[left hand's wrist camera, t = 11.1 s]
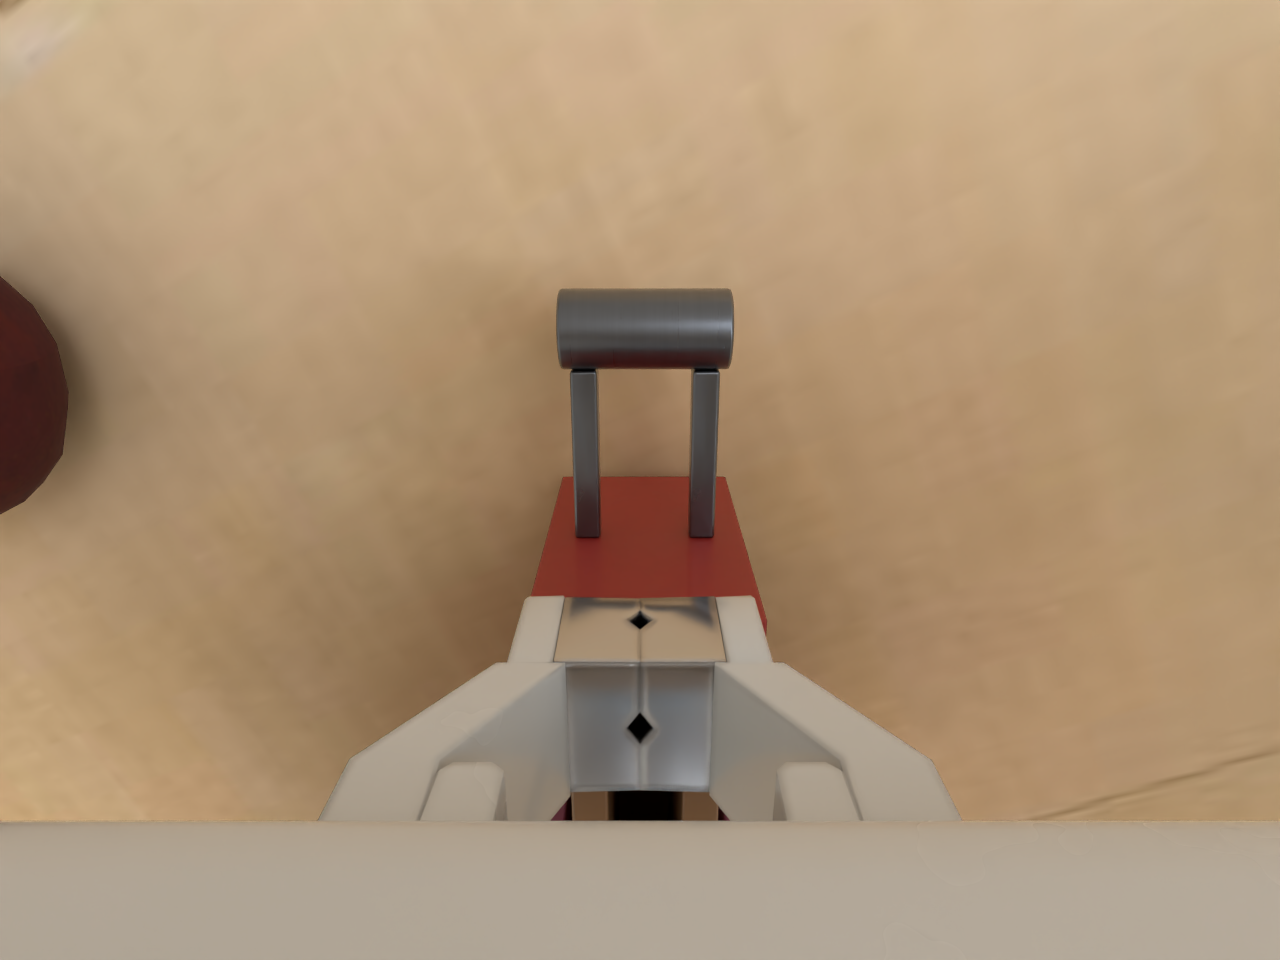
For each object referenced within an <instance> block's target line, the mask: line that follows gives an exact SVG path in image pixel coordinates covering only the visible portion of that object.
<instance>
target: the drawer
mask: <svg viewBox="0 0 1280 960" xmlns="http://www.w3.org/2000/svg"><path fill="white" fill-rule="evenodd" d="M556 335H557V351H558V359H559V364H560V366H561V368H562V369H572V370H571V372H570V391H571V421H572V451H573V477H563V479H562V483H561V486H560V490H559V494H558V498H557V501H556V505H555V509H554V512H553V516H552V520H551V523H550V527H549V531H548V534H547V538H546V542H545V546H544V549H543V553H542V557H541V560H540V564H539V568H538V571H537V575H536V579H535V582H534V586H533V590H532V593H531V596H564V597H565V598H566V597H567V596H572V597H626V598H664V597H706V596H714V597H726V596H748V595H751V596H752V597H754V598H755V601H756V605H757V608H758V611H759V615H760V618H761V622H762V625H763V629H764V632H765V636H766V630H767V619H766V615H765V612H764V609H763V605H762V602H761V598H760V595H759V592H758V588H757V585H756V581H755V578H754V574H753V571H752V568H751V564H750V561H749V557H748V554H747V550H746V547H745V544H744V540H743V537H742V533H741V530H740V526H739V523H738V520H737V516H736V513H735V509H734V506H733V503H732V499H731V496H730V492H729V489H728V485H727V482H726V479H725V477H716V470H717V442H718V415H719V387H720V372H719V370H718V369H727V368H729V366H730V364H731V360H732V353H733V341H734V304H733V296H732V293H731V290H729V289H561V290H559V293H558V297H557V310H556ZM598 369H691V411H690V454H689V477H600V431H599V381H598ZM709 794H710V792H685V791H648V790H629V791H594V792H571V798H572V821H718V805H717V804H716V803H715V801H714V800H713V799H712V798H711V797H710V795H709Z"/></svg>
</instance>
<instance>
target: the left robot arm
mask: <svg viewBox="0 0 1280 960" xmlns="http://www.w3.org/2000/svg"><path fill="white" fill-rule="evenodd" d="M629 790H648V791H685V792H710V794H709V795H710V797H711V798H712V799H713V800H714V801H715V803H716V804H717V805H718V806H719V807H720V809H721V810H722V811H723V812H724V814H725V815H726V816H727V817H728V818H729V820H730V821H550V820H551V819H552V818H553V817H554V815H555V814H556V813H557V812H558V811H559V809H560V808H561V807H562V806H563V805H564V803H565V802H566V801H567V800H568V798H569V797H570V796H571V793H570V792H594V791H629ZM0 960H1280V821H962V819H961V817H960V815H959V813H958V811H957V809H956V807H955V805H954V803H953V801H952V799H951V797H950V795H949V793H948V791H947V789H946V787H945V785H944V783H943V782H942V780H941V778H940V776H939V774H938V772H937V770H936V768H935V766H934V764H933V762H932V760H931V759H929V758H928V757H926V756H925V755H923V754H922V753H920V752H919V751H917V750H916V749H914V748H913V747H911V746H910V745H908V744H906V743H905V742H903V741H902V740H900V739H899V738H897V737H896V736H894V735H893V734H891V733H890V732H888V731H887V730H885V729H884V728H882V727H881V726H879V725H878V724H876V723H875V722H873V721H872V720H870V719H869V718H867V717H866V716H864V715H863V714H861V713H860V712H858V711H857V710H855V709H854V708H852V707H850V706H849V705H847V704H846V703H844V702H843V701H841V700H840V699H838V698H837V697H835V696H834V695H832V694H831V693H829V692H828V691H826V690H825V689H823V688H822V687H820V686H819V685H817V684H816V683H814V682H813V681H811V680H810V679H808V678H807V677H805V676H804V675H802V674H801V673H799V672H798V671H796V670H794V669H793V668H791V667H790V666H788V665H787V664H785V663H779V662H773V660H772V657H771V653H770V650H769V646H768V643H767V639H766V636H765V632H764V629H763V625H762V622H761V618H760V615H759V611H758V608H757V605H756V601H755V598H754V597H752V596H751V595H748V596H726V597H714V596H706V597H664V598H626V597H572V596H567V597H566V598H565V597H564V596H529V597H527V598H526V599H525V600H524V604H523V607H522V611H521V614H520V618H519V621H518V625H517V628H516V632H515V635H514V639H513V642H512V646H511V649H510V653H509V656H508V660H507V662H501V663H495V664H493V665H492V666H490V667H489V668H487V669H485V670H484V671H482V672H481V673H479V674H478V675H476V676H475V677H473V678H472V679H470V680H469V681H467V682H466V683H464V684H463V685H461V686H460V687H458V688H457V689H455V690H454V691H452V692H451V693H449V694H447V695H446V696H444V697H443V698H441V699H440V700H438V701H437V702H435V703H434V704H432V705H431V706H429V707H428V708H426V709H425V710H423V711H422V712H420V713H419V714H417V715H416V716H414V717H413V718H411V719H409V720H408V721H406V722H405V723H403V724H402V725H400V726H399V727H397V728H396V729H394V730H393V731H391V732H390V733H388V734H387V735H385V736H384V737H382V738H381V739H379V740H378V741H376V742H375V743H373V744H371V745H370V746H368V747H367V748H365V749H364V750H362V751H361V752H359V753H358V754H356V755H355V756H353V757H352V758H350V759H349V761H348V763H347V765H346V767H345V769H344V770H343V772H342V774H341V776H340V778H339V780H338V782H337V784H336V786H335V788H334V790H333V792H332V794H331V796H330V798H329V800H328V801H327V803H326V805H325V807H324V809H323V811H322V813H321V815H320V817H319V819H318V821H0Z"/></svg>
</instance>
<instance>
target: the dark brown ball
mask: <svg viewBox="0 0 1280 960" xmlns="http://www.w3.org/2000/svg"><path fill="white" fill-rule="evenodd" d="M67 410H68V389H67V384H66V380H65V376H64V372H63V368H62V364H61V360H60V356H59V352H58V348H57V344H56V342H55V341H54V339H53V337H52V336H51V334H50V332H49V331H48V329H47V327H46V326H45V324H44V323H43V321H42V319H41V318H40V316H39V314H38V313H37V311H36V309H35V308H34V306H33V305H32V304H31V303H30V302H28V301H27V300H26V299H25V298H24V297H23V296H22V295H21V294H19V293H18V292H17V291H16V290H15V289H14V288H13V287H12V286H10V285H9V284H8V283H7V282H6V281H5V280H4V279H3V278H1V277H0V514H2V513H4V512H5V511H7V510H9V509H11V508H13V507H15V506H17V505H18V504H20V503H22V502H24V501H25V500H26V499H27V498H28V497H29V496H30V495H31V494H32V493H33V492H34V491H35V490H36V489H37V488H38V487H39V486H40V485H41V484H42V483H43V482H44V480H45V479H46V478H47V476H48V475H49V473H50V472H51V470H52V469H53V467H54V466H55V465H56V463H57V462H58V460H59V459H60V457H61V456H62V454H63V445H64V436H65V427H66V418H67Z"/></svg>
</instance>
